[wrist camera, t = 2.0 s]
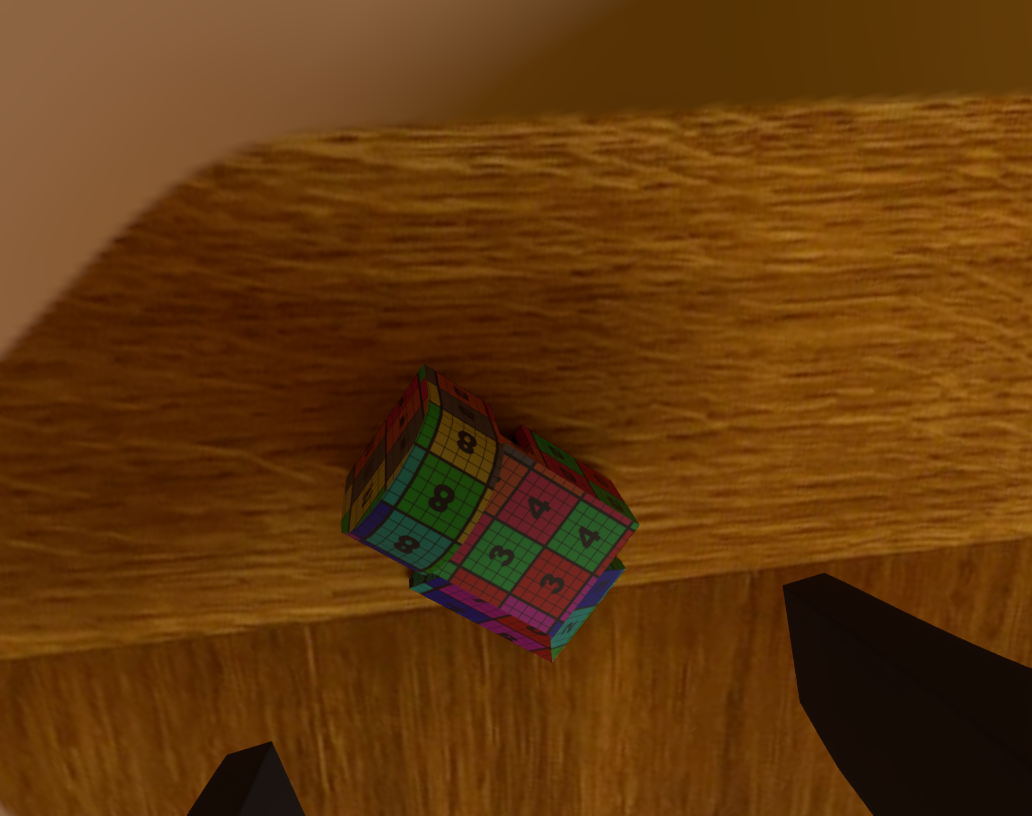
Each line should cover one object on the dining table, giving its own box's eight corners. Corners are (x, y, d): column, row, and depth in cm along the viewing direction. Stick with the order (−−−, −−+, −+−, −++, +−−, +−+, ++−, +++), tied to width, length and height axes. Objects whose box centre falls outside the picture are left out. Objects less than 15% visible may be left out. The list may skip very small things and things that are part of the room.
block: (311, 528, 16) (293, 625, 13) (424, 364, 15) (433, 424, 12) (549, 653, 18) (584, 765, 15) (659, 511, 17) (721, 596, 14)
